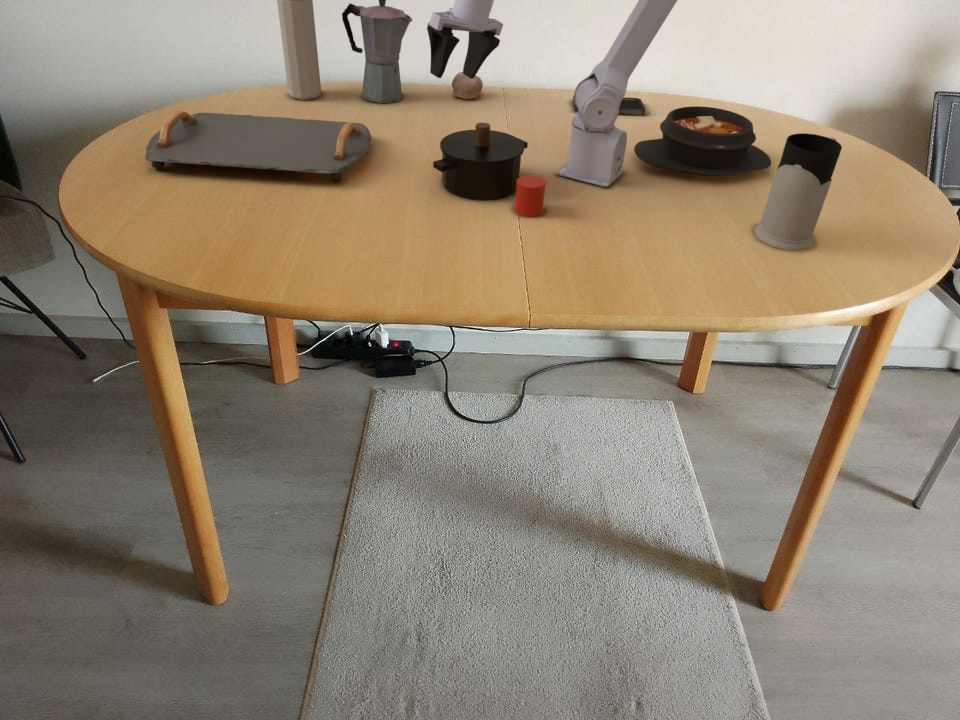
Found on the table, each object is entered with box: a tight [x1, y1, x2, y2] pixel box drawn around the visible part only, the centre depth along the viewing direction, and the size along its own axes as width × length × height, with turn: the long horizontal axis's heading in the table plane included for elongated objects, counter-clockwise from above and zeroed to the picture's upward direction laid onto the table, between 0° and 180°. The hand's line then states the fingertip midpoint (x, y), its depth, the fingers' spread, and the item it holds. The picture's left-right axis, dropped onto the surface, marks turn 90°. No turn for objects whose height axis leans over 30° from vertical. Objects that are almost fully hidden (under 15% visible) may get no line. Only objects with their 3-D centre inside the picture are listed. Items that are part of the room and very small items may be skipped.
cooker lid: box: [439, 122, 525, 164], centre depth 120 cm, size 14×14×4 cm
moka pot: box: [341, 0, 413, 104], centre depth 152 cm, size 10×15×20 cm, turn 78°
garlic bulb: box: [451, 71, 484, 100], centre depth 158 cm, size 8×7×8 cm
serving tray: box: [144, 110, 373, 184], centre depth 129 cm, size 39×23×6 cm, turn 85°
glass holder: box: [754, 132, 843, 251], centre depth 110 cm, size 9×14×15 cm, turn 137°
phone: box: [572, 95, 646, 116], centre depth 157 cm, size 8×1×15 cm
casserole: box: [633, 105, 772, 177], centre depth 132 cm, size 25×19×8 cm
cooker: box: [432, 137, 529, 201], centre depth 123 cm, size 13×18×6 cm
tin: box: [514, 174, 546, 218], centre depth 116 cm, size 5×5×5 cm
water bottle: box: [276, 0, 322, 101], centre depth 150 cm, size 9×8×25 cm
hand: (452, 75), depth 119 cm, fingers open, 7 cm apart
